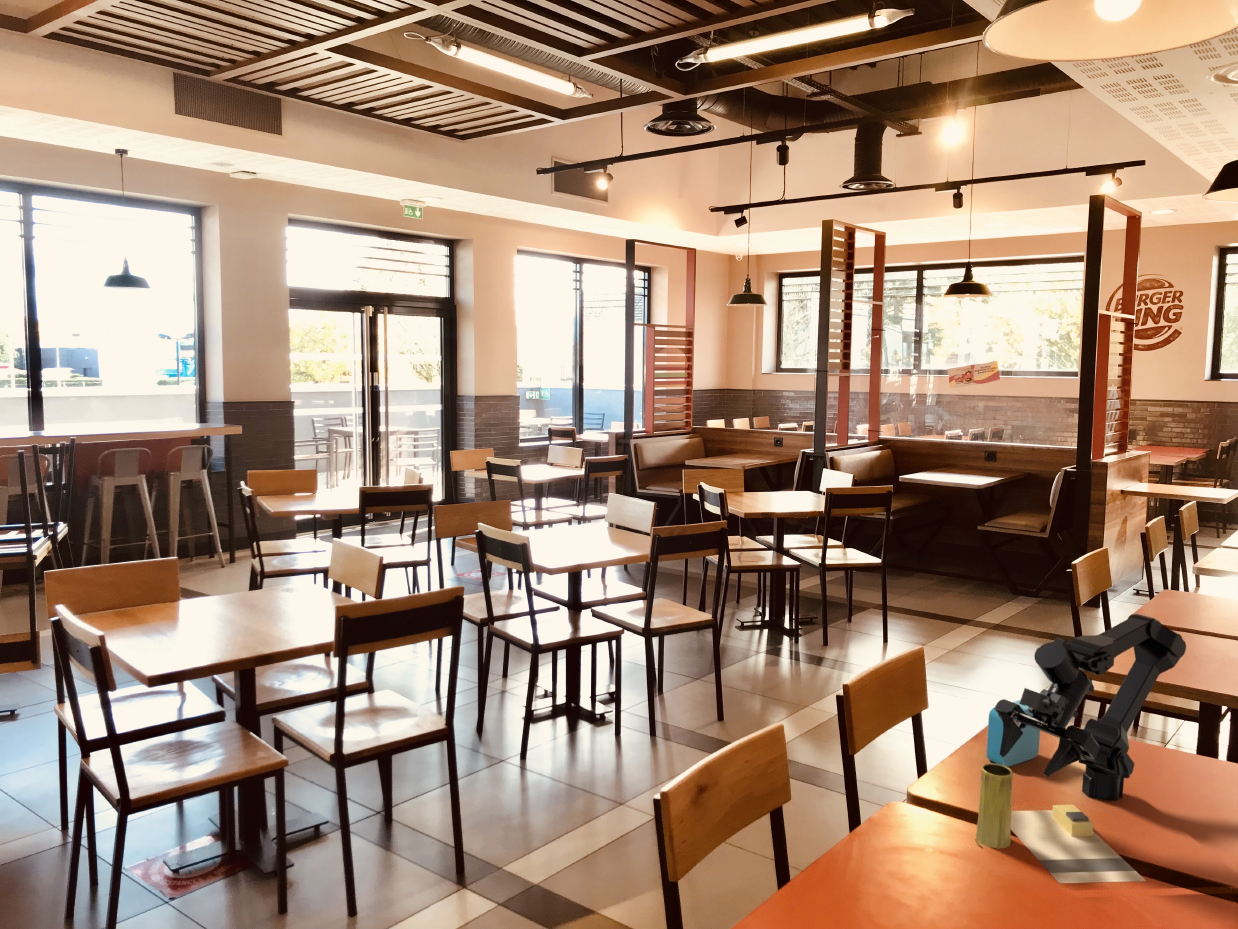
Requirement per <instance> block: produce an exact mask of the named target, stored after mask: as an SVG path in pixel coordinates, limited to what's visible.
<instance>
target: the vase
mask: <svg viewBox="0 0 1238 929" xmlns="http://www.w3.org/2000/svg"><path fill="white" fill-rule="evenodd" d="M980 772H981V773H980V786H979V787H980V788H979V803H978V806H979V807H978V817H977V824H976V832H975V837H976V838H974V841H975V843H976V844H977V845H978V847H980V848H982V849H984V847H983V846H982V845H984V846H986V847H989V848H993V849H1006V848H1009V847H1010V845H1011V843H1012V842H1011V811H1012V796H1013V795H1012V792H1013V776H1014V772H1013V770H1012V769H1011V768H1010V767H1006V766H1004V765H1001V764H997V763H995V762H991V763H990V762H989V763H984V764H983V765H982V766H981V771H980Z"/></svg>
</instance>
